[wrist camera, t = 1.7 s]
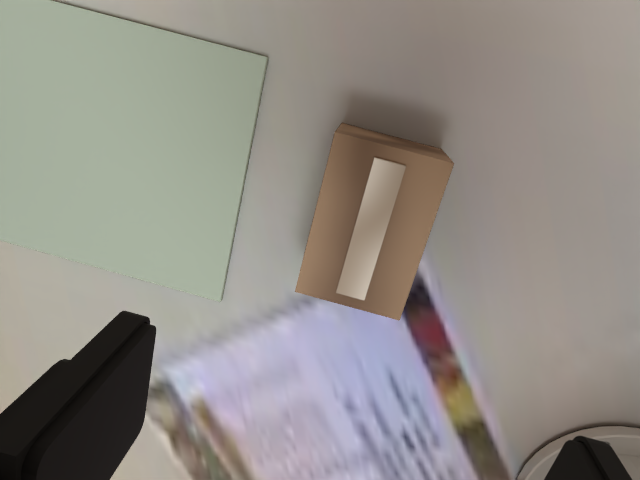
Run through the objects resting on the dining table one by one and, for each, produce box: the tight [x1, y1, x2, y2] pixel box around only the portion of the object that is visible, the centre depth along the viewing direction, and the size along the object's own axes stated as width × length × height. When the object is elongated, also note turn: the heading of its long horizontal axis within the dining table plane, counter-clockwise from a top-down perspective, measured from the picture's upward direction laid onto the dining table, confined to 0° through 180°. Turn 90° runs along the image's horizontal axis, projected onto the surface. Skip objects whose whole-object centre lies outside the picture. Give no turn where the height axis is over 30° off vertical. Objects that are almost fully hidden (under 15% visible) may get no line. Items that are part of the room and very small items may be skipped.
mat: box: [0, 0, 269, 302], centre depth 29 cm, size 16×16×1 cm
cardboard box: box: [295, 123, 454, 320], centre depth 26 cm, size 6×9×5 cm, turn 166°
